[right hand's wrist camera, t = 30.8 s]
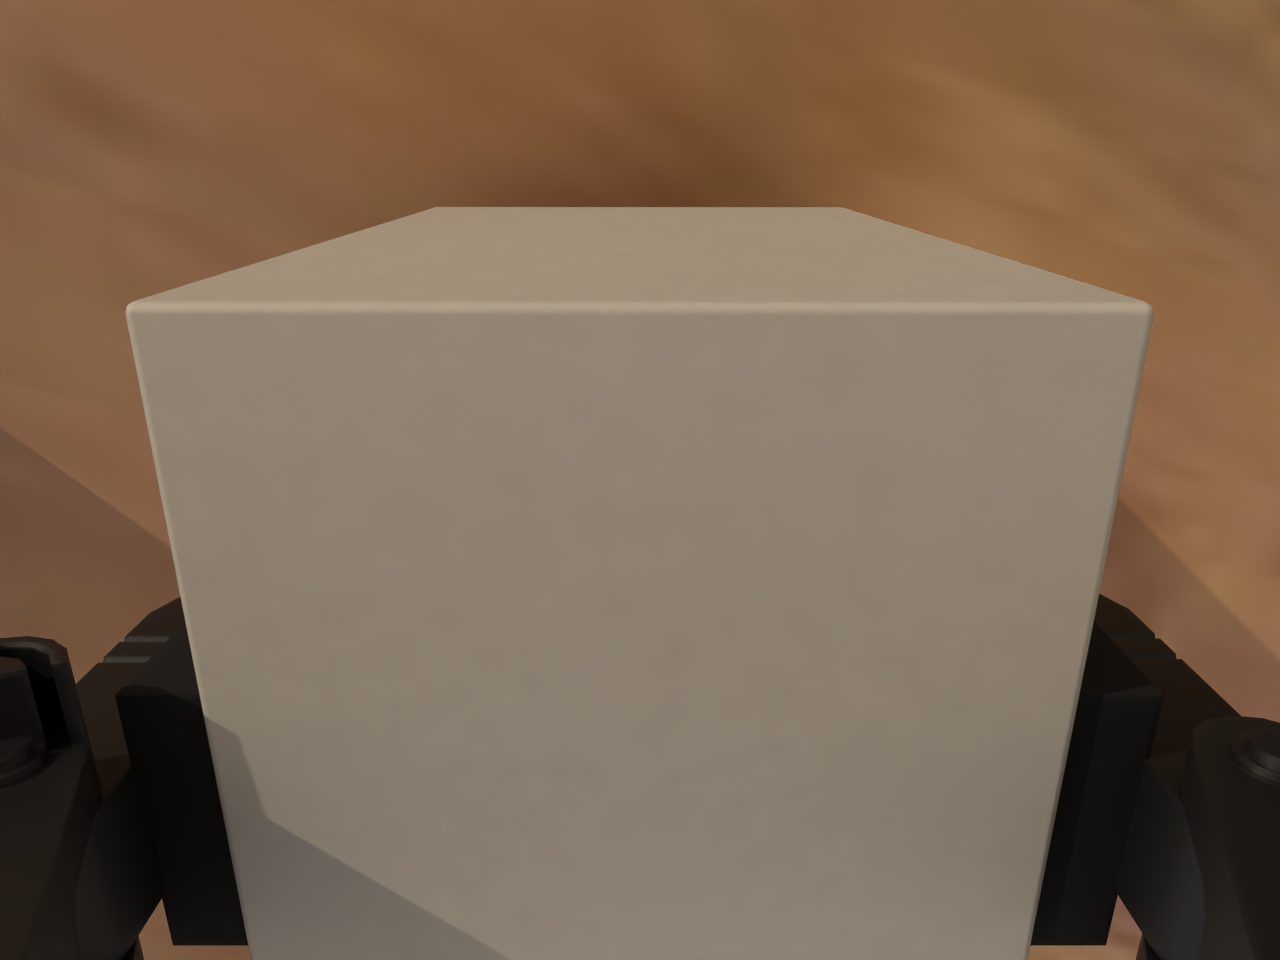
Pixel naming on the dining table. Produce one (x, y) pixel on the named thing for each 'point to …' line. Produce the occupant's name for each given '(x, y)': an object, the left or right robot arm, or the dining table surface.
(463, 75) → the dining table surface
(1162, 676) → the right robot arm
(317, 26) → the dining table surface
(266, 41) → the dining table surface
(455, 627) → the block
